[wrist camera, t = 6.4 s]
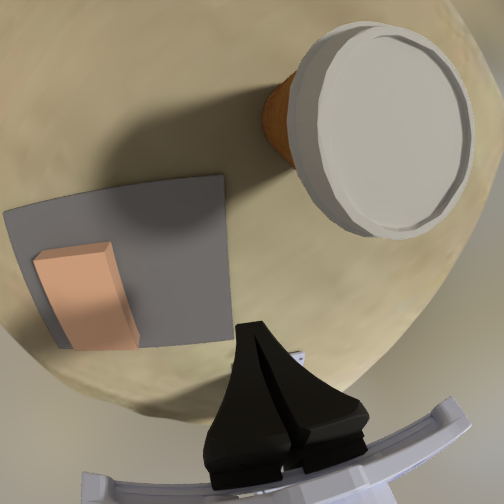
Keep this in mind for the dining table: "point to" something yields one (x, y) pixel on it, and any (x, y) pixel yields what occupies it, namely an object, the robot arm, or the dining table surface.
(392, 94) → the disposable coffee cup
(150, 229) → the rubber mat
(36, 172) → the dining table surface
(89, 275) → the terracotta tile
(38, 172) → the dining table surface
